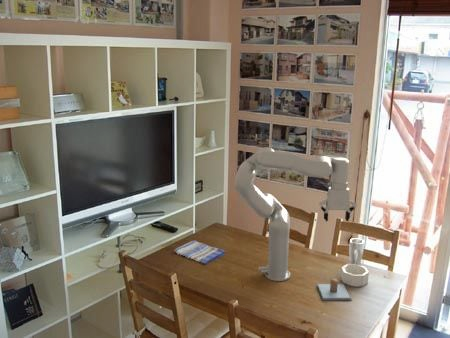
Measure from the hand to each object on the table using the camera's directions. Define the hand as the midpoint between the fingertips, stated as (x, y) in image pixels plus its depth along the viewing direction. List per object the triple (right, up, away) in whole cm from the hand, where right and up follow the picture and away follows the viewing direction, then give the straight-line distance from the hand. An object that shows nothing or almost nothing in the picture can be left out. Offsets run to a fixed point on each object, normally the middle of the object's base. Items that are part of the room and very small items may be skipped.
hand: (336, 220), depth 216 cm
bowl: (+10, -30, +6) cm, 32 cm away
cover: (-2, -32, -5) cm, 33 cm away
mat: (-2, -33, -5) cm, 33 cm away
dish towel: (-66, -22, +35) cm, 78 cm away
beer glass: (+14, -27, +19) cm, 35 cm away
